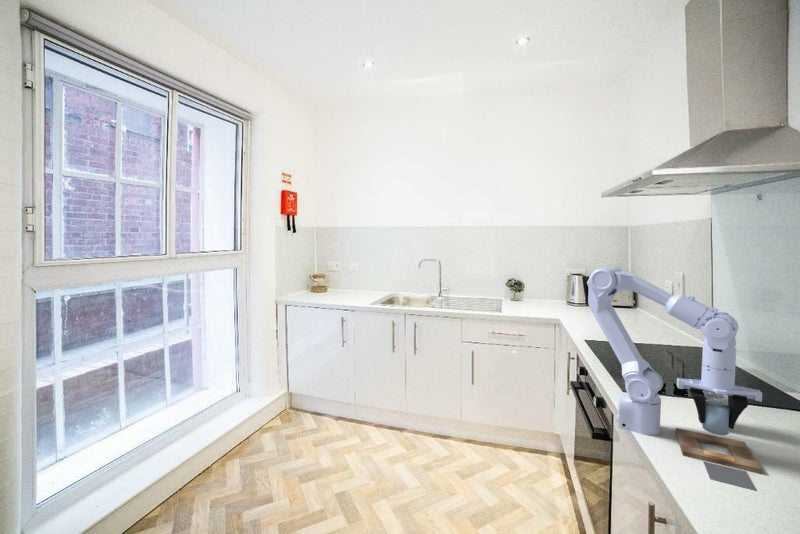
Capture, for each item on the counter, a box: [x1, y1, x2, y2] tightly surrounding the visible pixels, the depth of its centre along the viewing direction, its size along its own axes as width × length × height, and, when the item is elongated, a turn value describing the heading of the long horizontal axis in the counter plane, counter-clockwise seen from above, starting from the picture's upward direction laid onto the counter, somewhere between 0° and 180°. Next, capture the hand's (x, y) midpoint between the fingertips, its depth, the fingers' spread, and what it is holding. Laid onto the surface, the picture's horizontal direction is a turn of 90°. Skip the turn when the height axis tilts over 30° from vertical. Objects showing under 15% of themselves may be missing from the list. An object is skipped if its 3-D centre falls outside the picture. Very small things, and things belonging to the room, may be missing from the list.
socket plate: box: [674, 427, 763, 475], centre depth 83 cm, size 13×12×2 cm
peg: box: [702, 401, 730, 436], centre depth 82 cm, size 4×4×6 cm
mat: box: [702, 460, 758, 492], centre depth 74 cm, size 7×7×1 cm
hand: (715, 424), depth 83 cm, fingers closed on peg, 4 cm apart
